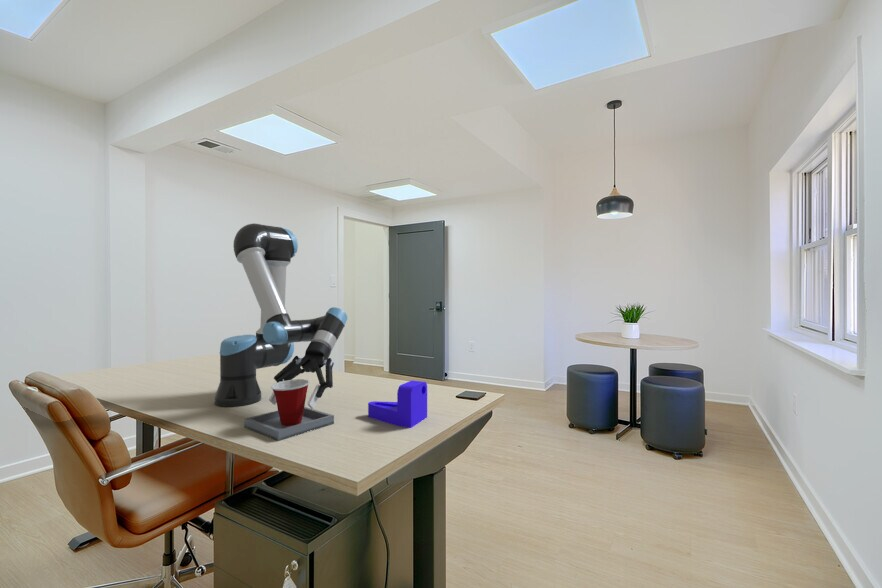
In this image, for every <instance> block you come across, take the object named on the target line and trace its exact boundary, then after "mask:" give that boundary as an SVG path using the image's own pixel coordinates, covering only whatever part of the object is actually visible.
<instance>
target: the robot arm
mask: <svg viewBox="0 0 882 588" xmlns="http://www.w3.org/2000/svg"><path fill="white" fill-rule="evenodd" d="M232 247H233V253H234V256H235V258H236V261H237V262H238V263H240V264H241V265H242V267H243V270H244V272H245V274H246V277H247V279H248V281H249V284H250V287H251V289H252V291H253V293H254V296H255V299H256V301H257V304H258V306H259V308H260V327H259V328H258V329H257V330H256V331H255V334H242V335H235V336H234V335H233V336H230V337H228V338H225V339H223V340H222V341H221V342H220V348H219V358H220V359H219V361H220V362H219V363H220V364H219V365H220V366H219V369H220V370H219V377H220V379H219V384H218V387H217V389H216V392H215V395H214V405H215V406H218V407H239V406H246V405H251V404H255V403H258V402H260V401H261V400H262V391H261V388H260V385H259V383H258V379H257V370H259V369H265V368H269V367H278V366H280V365H285V364H286V366H285V367H283V368H282V369H281V370H280V371H279V372H278V373H277V374H275V375H274V377H273V380H275V382H276V383H279V382H282V381H287V380H294V378H296V377H298V376H299V375H300V374H304V373H316V377H317V380H318V382H319V383H318V384H316V385H315V387H314V389H313V392H312V393H311V395H310V397H309V400H308V401H307V406H308V407H309V408H310V409H314V408H315V407H316V404H317V402H318V400H319V398H322V396H323V394H324V392H325V390H326V389H328V388H329V389H332V388H333V386H334V385H333V384H334V383H333V381H334V380H333V367H334V364H335V363H334V361H333V360H332V357H331V358H330V355H331V353H332V351H333V349H334V347H335V346H336V343H337V341H338V339H339V338H340V336H341V334H342V332H343V330H344V328H345V325H346V323H347V320H348V315H347V313H346V312H345V311H344V310H343V309H342V308H340V307H335V306H334V307H330V308H329V309H328V310H327V311H326V313H325V314H324V315H322V316H319V317H315V318H309V319H308V318H307V319H298V320H297V319H293V320H292V319H291V317H290V315H289V313H288V310H287V309H286V287H287V285H286V283H287V267H288V266H289V265H290V264H291V259H292V258H294V257H295V256H296V254H297V252H298V248H299V246H298V239H297V236H296V235H295V234H294V233H293V231H291V230H290V229H287V228H284V227H281V226H273V225H267V224H266V225H265V224H261V223H248V224H246V225H243V226H242V227H240V229H238V231H237V232H236V234H235V236H234V239H233V246H232ZM301 342H304V343H305V342H309V344H308V346H307V348H306V350H305V352H304V356H303V357H300V356H298V355H295V356H294V357H293V354H294V352H295V343H301ZM292 357H293V359H292ZM291 359H292V360H291ZM290 360H291V361H290ZM289 361H290V362H289ZM288 362H289V363H288ZM287 363H288V364H287ZM324 366H325V378H324V374H323V371H322V370H323V369H322V367H324ZM260 399H261V400H260ZM259 400H260V401H259ZM257 401H258V402H257ZM268 401H269V402H270V403H271V405H277V402H276V397H275V394H274V391H273V390H272V393H271V395H270V396H269V399H268ZM314 410H315V409H314Z"/></svg>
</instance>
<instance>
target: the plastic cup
mask: <svg viewBox="0 0 882 588" xmlns="http://www.w3.org/2000/svg"><path fill="white" fill-rule="evenodd" d="M309 384H310V380H309V379H304V378H303V379H301V378H297V379H294V378H293V379H292V380H287V381H284V380H283V381H282V382H279V383H277V382H276V383H274V384H272V385H271V386H270V388H271V389H272V392H273V391H274V394H275V397H276V402H277V403H276V407H277V411H278V413H279V417H280V422H281V424H282V425H284V426H292V425H297V424H300V423H301V421H302V417H303V411H304V407H306V406H305V405H306V398H307V393H308V389H309Z"/></svg>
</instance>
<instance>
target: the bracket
mask: <svg viewBox="0 0 882 588" xmlns="http://www.w3.org/2000/svg"><path fill="white" fill-rule="evenodd" d="M396 393H397V395H396V396H397V397H396V398H397V400H396V401H377V400H375V401H369V402H368V403H367V415H368V418H371V419H373V418H374V420H376V419H377V420H376V421H379V422H383V423H386V424H390V425H393V426H398V427H401V426H402V427H404V428H408V427H409V429H412V428H414V427H415V426H416V425H418V424H419V423H421V422H423V421H424V420H426V419H427V418H428V383H427V382H426V381H419V380H418V381H417V380H410V381H407V382H404V383H402V384H400V385H398V389H397V392H396ZM425 418H426V419H425ZM422 420H423V421H422Z"/></svg>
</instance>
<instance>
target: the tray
mask: <svg viewBox="0 0 882 588" xmlns="http://www.w3.org/2000/svg"><path fill="white" fill-rule="evenodd" d="M243 420H244V428H245V429H248V430H250V431H253V432H255V433H258V434H261V435H262V434H263V436H265V435H266V436H265V437H267V436H268V438H270V437H271V438H270V439H272V438H273V440H276V441H277V440H278V441H277V442H279V441H282V440H286V439H288V438H289V437H290V438H293V437H296V436H299V435H301V433H302V434H305V433H304V432H306V433H308V432H307V431H309V432H311V431H310V430H312V431H315V430H318V429H321V427H322V428H324V427H328V426H331V425H334V424H335V415H334V414H331V413H328V412H323V411H321V410H316V409H311V408H310V407H306V406H304V411H303V417H302V421H301V423H300V424H297V425H292V426H284V425H282V424H281V422H280V417H279V413H278V410H274V411H271V412H266V413H262V414H258V415H254V416H250V417H247V418H246V417H245V418H244V419H243ZM314 429H315V430H314ZM298 434H299V435H298ZM295 435H296V436H295ZM292 436H293V437H292Z"/></svg>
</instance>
